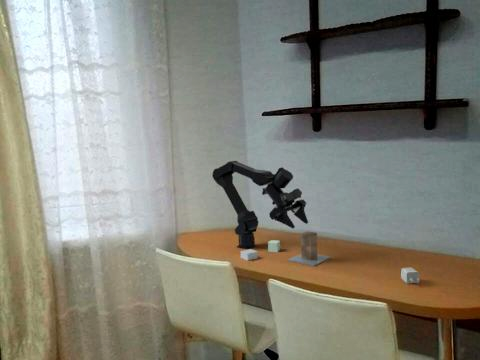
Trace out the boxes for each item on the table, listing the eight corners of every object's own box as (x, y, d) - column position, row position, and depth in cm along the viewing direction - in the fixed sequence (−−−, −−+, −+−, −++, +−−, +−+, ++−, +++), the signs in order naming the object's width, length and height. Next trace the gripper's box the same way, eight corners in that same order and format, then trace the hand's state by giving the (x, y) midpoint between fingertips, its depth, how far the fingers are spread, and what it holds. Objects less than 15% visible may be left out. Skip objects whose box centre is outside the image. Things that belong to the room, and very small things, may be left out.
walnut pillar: (301, 258, 172) (300, 233, 171) (307, 255, 175) (307, 231, 174) (311, 260, 169) (310, 235, 168) (317, 257, 172) (316, 232, 171)
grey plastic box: (240, 258, 178) (240, 251, 178) (250, 256, 181) (250, 249, 181) (247, 261, 174) (247, 254, 174) (257, 258, 177) (257, 251, 177)
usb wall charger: (413, 279, 147) (413, 267, 146) (422, 286, 140) (422, 274, 139) (401, 279, 147) (401, 268, 146) (409, 287, 140) (409, 275, 139)
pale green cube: (268, 251, 186) (267, 242, 185) (271, 249, 189) (270, 240, 189) (277, 252, 184) (277, 243, 184) (280, 249, 188) (279, 240, 187)
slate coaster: (287, 260, 172) (287, 259, 172) (305, 253, 181) (305, 251, 181) (313, 266, 164) (313, 264, 164) (330, 258, 173) (330, 256, 172)
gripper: (274, 185, 168) (298, 217, 162) (302, 180, 181) (325, 208, 175) (259, 204, 174) (282, 235, 168) (287, 197, 188) (309, 225, 181)
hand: (300, 225), depth 173 cm, fingers open, 9 cm apart
